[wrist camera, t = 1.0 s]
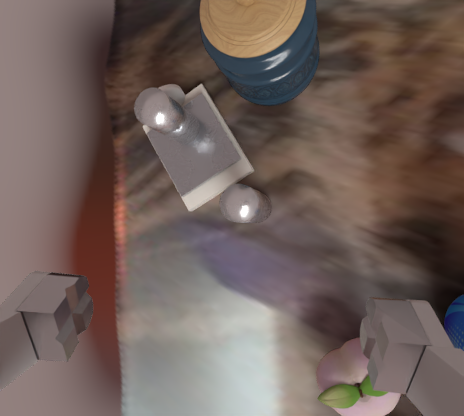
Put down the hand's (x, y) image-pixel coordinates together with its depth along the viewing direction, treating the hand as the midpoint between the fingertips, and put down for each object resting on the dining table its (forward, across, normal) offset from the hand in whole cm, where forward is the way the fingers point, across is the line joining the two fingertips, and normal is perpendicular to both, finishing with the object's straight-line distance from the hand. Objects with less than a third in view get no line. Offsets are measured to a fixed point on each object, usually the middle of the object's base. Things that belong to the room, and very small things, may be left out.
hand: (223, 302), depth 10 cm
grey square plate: (+41, +9, +10) cm, 43 cm away
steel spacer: (+37, -1, +17) cm, 40 cm away
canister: (+47, -2, -1) cm, 47 cm away
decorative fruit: (+24, -15, +32) cm, 43 cm away
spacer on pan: (+42, +10, +8) cm, 43 cm away
